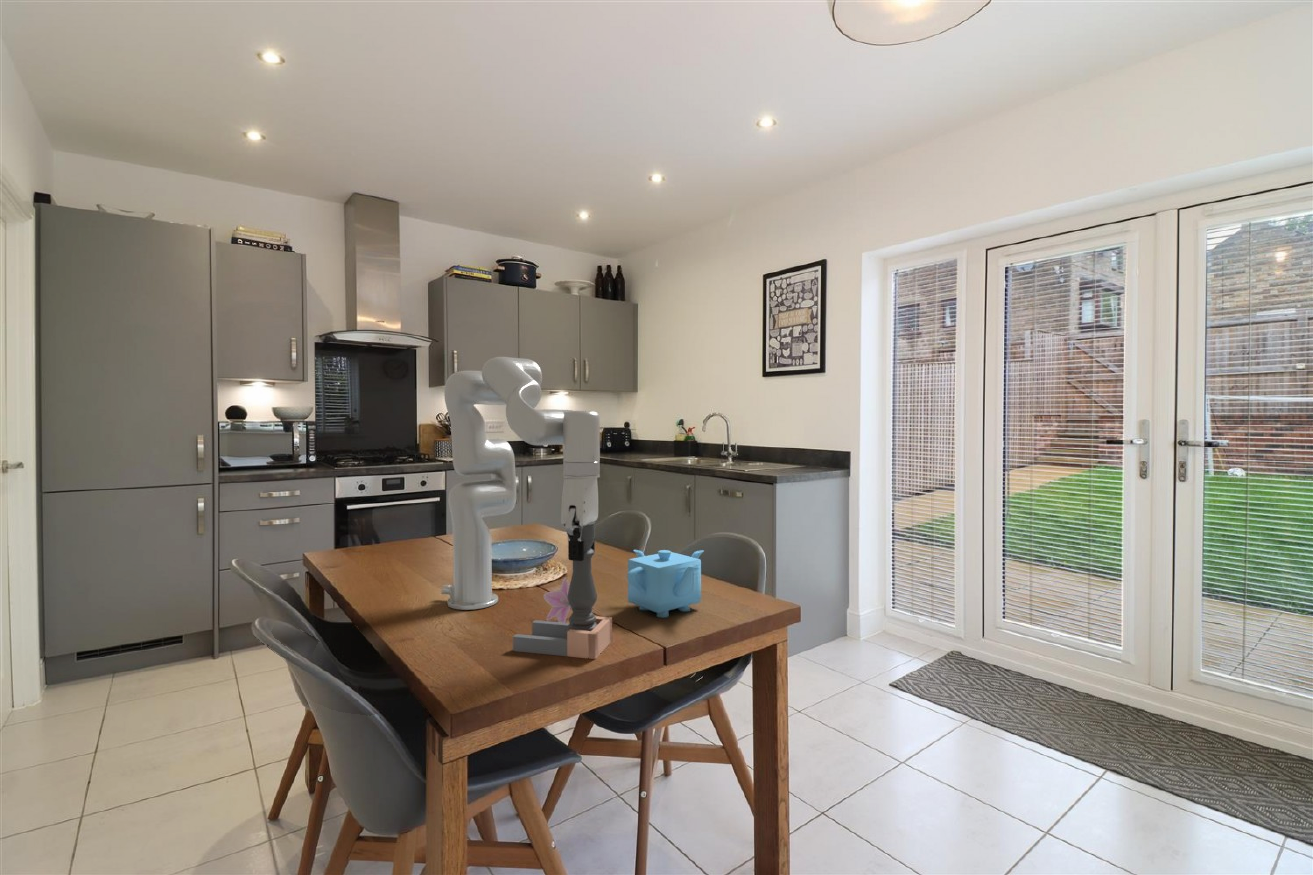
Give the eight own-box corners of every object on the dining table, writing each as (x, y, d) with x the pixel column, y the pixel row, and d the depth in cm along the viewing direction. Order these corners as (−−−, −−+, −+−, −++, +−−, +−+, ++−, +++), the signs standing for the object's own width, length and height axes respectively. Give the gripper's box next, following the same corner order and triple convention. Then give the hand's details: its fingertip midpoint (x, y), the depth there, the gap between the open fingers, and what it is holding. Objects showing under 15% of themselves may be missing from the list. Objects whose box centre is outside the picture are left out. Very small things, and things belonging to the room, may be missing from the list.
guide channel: (513, 650, 126) (512, 626, 126) (535, 633, 136) (535, 611, 136) (595, 659, 122) (595, 634, 122) (612, 640, 132) (612, 617, 132)
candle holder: (568, 635, 131) (567, 520, 130) (597, 634, 132) (596, 519, 130) (566, 647, 125) (565, 525, 124) (597, 645, 126) (596, 525, 124)
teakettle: (623, 620, 145) (623, 558, 145) (633, 596, 164) (633, 542, 164) (703, 622, 144) (703, 560, 143) (703, 598, 162) (703, 543, 162)
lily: (544, 616, 152) (530, 587, 147) (586, 593, 155) (575, 565, 150) (557, 646, 141) (544, 616, 137) (603, 621, 145) (591, 591, 140)
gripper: (579, 466, 136) (579, 547, 137) (547, 473, 119) (547, 565, 120) (611, 467, 134) (611, 549, 135) (583, 474, 118) (583, 567, 118)
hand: (581, 555), depth 127 cm, fingers closed on candle holder, 5 cm apart
